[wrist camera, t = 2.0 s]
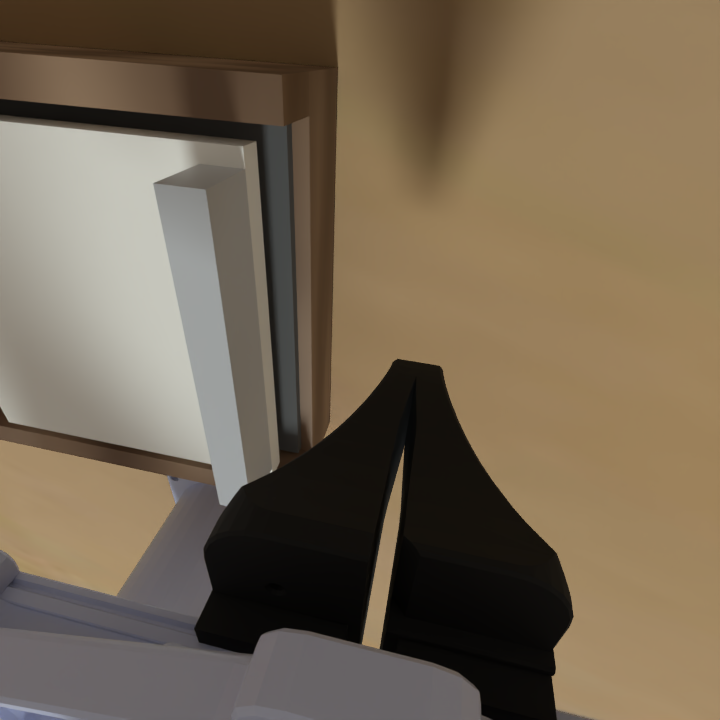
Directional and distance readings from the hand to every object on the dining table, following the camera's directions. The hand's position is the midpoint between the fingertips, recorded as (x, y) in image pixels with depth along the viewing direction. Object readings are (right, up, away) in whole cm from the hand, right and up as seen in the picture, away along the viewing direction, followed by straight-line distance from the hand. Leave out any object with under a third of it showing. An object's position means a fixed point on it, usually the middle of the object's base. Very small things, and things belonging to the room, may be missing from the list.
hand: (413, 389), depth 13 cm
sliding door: (-10, +3, +2) cm, 11 cm away
